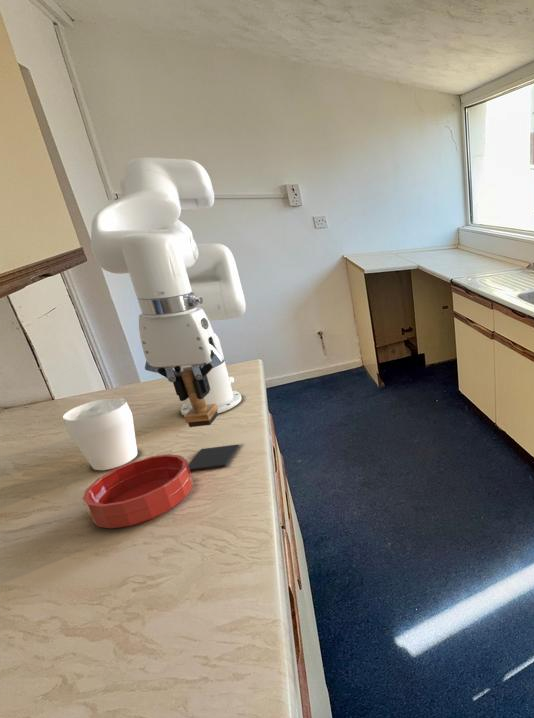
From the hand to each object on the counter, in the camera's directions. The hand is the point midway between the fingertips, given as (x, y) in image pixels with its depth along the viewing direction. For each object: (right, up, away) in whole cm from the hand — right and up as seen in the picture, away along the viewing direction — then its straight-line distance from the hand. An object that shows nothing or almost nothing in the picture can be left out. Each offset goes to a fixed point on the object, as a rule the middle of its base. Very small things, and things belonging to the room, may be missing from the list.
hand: (195, 396), depth 76 cm
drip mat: (0, -14, +5) cm, 14 cm away
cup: (-20, -14, +4) cm, 24 cm away
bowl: (-3, -18, -7) cm, 19 cm away
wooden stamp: (0, -5, +2) cm, 6 cm away
